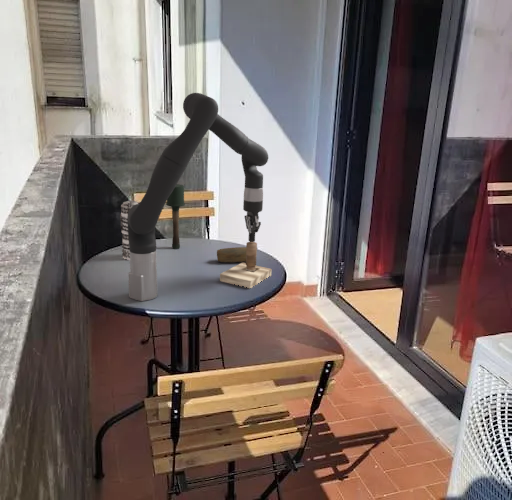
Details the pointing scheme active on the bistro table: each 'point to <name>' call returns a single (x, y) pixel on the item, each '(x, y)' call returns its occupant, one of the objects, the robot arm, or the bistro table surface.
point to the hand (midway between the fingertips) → (251, 241)
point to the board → (245, 275)
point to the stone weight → (232, 254)
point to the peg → (251, 256)
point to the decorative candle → (125, 227)
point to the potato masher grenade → (176, 211)
